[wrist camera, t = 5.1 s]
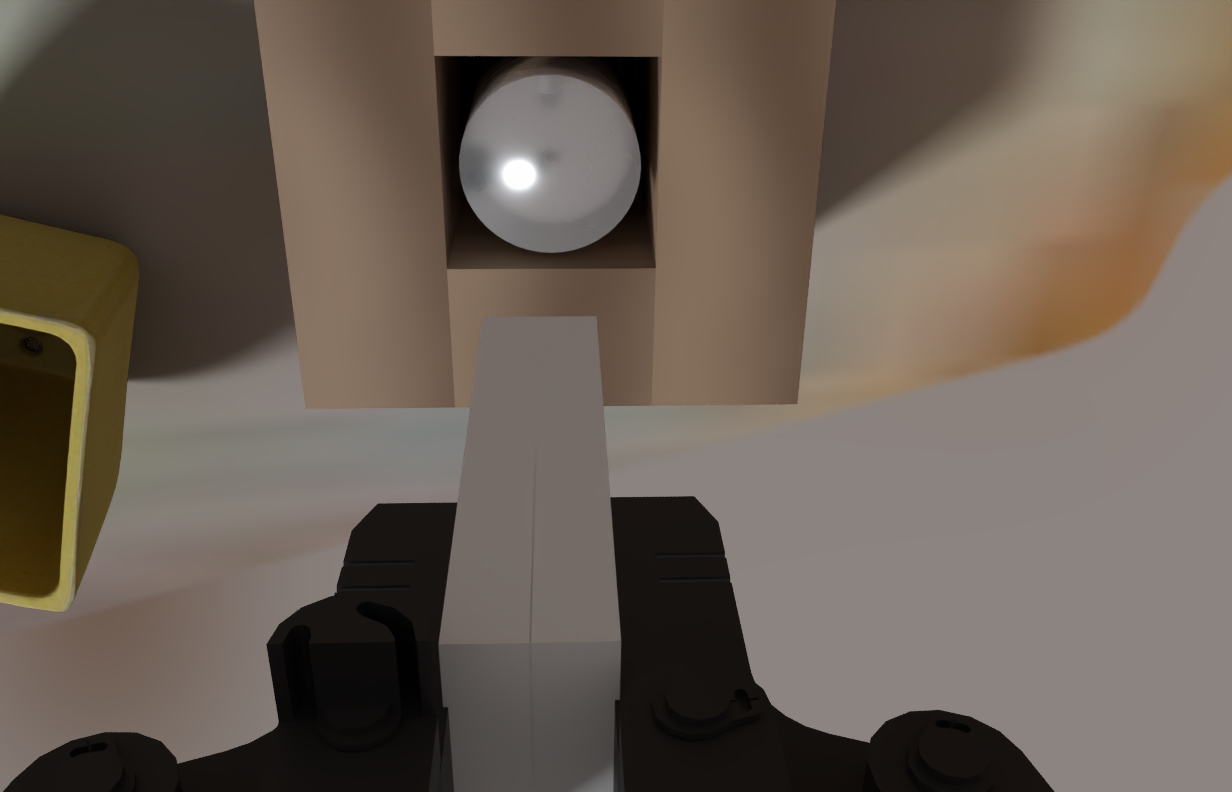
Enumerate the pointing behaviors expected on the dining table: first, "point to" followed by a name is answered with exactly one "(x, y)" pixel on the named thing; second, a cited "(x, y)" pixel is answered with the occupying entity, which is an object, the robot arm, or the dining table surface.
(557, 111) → the peg
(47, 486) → the flower pot
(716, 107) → the tan grooved block
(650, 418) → the dining table surface
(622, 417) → the dining table surface
